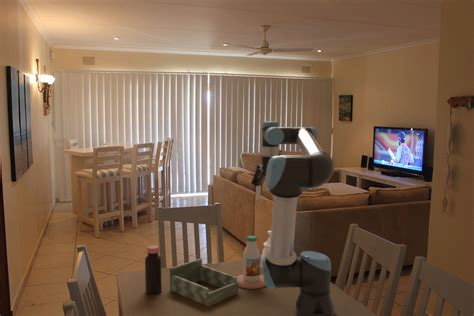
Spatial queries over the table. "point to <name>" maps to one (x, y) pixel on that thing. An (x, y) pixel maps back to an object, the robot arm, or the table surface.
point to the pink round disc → (251, 283)
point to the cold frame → (195, 271)
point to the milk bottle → (251, 260)
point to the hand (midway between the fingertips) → (269, 201)
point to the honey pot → (266, 247)
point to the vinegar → (153, 270)
